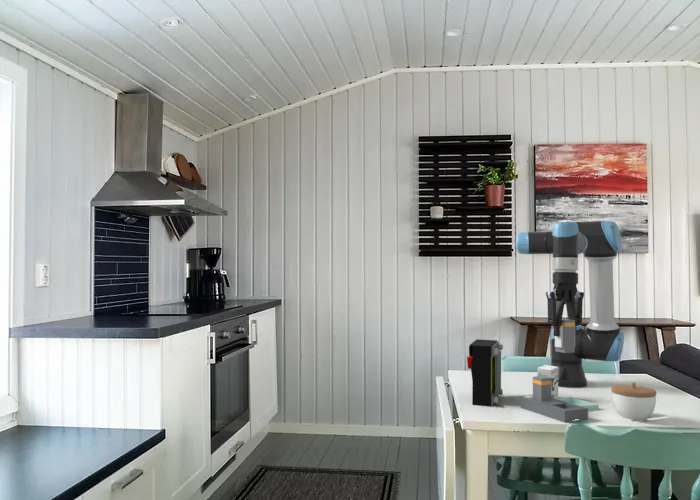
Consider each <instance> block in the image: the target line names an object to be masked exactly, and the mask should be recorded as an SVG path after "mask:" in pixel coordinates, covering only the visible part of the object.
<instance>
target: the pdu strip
mask: <svg viewBox="0 0 700 500" xmlns="http://www.w3.org/2000/svg"><path fill="white" fill-rule="evenodd" d="M551 384H552V381H551V378H549V377H545V376H536V375H535V376H532V394H530V395H529V394H528V395H523V396H521V397H520V408H521V409H524V410H526V411H529V412H533V413H535V414H538V415H541V416H544V417H547V418H549V419H552V420H555V421H558V422H561V423H563V424H565V423H571V422H570V421H572V420H575V419H579V420H583V421H588V420H589V411H588V408H585V407H582V406H578V405H575V404H571V403H568V402H565V401H561V400H558V399H554V398H551Z"/></svg>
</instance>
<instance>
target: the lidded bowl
mask: <svg viewBox="0 0 700 500" xmlns="http://www.w3.org/2000/svg"><path fill="white" fill-rule="evenodd" d="M610 388H611V389H610V390H611V400H612V404H613V405H612V406H613V408H614V410H615V412H616V413H617V414H618V415H619V416H620V417H622V418H624V419H628V420H629V419H630V421H631V422H646V421H647V420H648V419H649V417H651V415H652V414H654V411H655V410H656V409H655V408H656V404H657V403H656V402H657V390H655V388H651V387H647V386H643V385H637V384H636V382H635V381H633V382H631V384H616V385H612V386H611V387H610Z"/></svg>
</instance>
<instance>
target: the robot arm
mask: <svg viewBox="0 0 700 500" xmlns="http://www.w3.org/2000/svg"><path fill="white" fill-rule="evenodd" d="M515 248H516V250H517V253H518V254H521V255H552V270H553V271H554V272H552V283H553V288H552V290H550V291H545V296H546V299H547V300H546V301H547V323H548V324H550V326H553V328H552V329H551V333H550V335H551V337H550V348H551V349H550V354H551V355H550V356H551V357H550V360H551V361H550V366H556V367H558V387H561V388H563V387H564V388H565V387H566V388H582V387H583V388H584V387H586V386H588V383H587V382H588V379H587V377H586V374H585V371H584V367H583V360H591V361H592V360H593V361H601V362H602V361H603V362H617V361H620V359H621V356H622V354H623V349H624V342H625V332H624V331H621V330H620V326H619V324H617V323H616V322H615V300H614V299H615V293H614V289H615V288H614V264H613V263H614V260H615V259H616V257H618V253H619V252H621V251H622V236H621V232H620V229H619V226H618V224H617V223H616V222H615V221H610V220H596V221H595V220H591V221H562V222H561V221H560V222H559V221H558V222H555V223H554V224H553V226H552V227H551V228H549V229H545V230H538V231H524V232H523V231H522V232H518V233H517V235H516V238H515ZM580 254H583V258H585V259H586V260H587V261H588V286H589V287H588V288H589V289H588V290H589V314H590V317H589V319H590V320H589V323H588V324H586V329H585V328H583V326H582V325H581V324H582V323H583V303H584V302H583V300H584V297H585V292H583V291H579V290H578V287H577V285H578V284H579V273H578V272H577V271H579V255H580ZM565 307H566V312H567V313H566V314H567V319H570V320H575V353H562V352H557V351H555V347H561V348H563V326H560V325H561V321H562V319H563V315H564V314H563V313H564V308H565Z"/></svg>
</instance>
